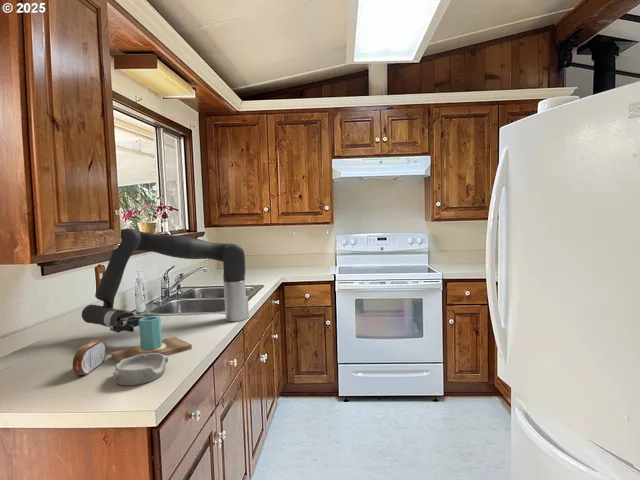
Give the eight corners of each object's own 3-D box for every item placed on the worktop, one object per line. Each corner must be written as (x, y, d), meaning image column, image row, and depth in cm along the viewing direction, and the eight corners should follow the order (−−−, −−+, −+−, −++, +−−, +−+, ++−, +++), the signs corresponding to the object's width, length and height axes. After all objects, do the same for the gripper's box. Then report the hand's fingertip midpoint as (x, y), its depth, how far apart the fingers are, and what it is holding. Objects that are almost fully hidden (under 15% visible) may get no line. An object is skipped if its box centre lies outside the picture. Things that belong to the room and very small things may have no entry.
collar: (154, 342, 146) (152, 315, 145) (165, 345, 142) (163, 317, 141) (137, 348, 141) (135, 319, 140) (148, 351, 137) (146, 322, 136)
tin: (99, 361, 136) (97, 336, 135) (108, 360, 136) (106, 335, 135) (72, 380, 121) (69, 352, 120) (83, 379, 121) (80, 351, 120)
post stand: (174, 340, 154) (172, 312, 153) (191, 348, 144) (189, 318, 143) (111, 357, 139) (108, 326, 138) (126, 367, 129) (123, 333, 128)
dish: (170, 366, 129) (169, 350, 128) (160, 384, 115) (158, 367, 115) (122, 370, 127) (121, 354, 126) (105, 390, 113) (103, 372, 113)
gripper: (99, 314, 146) (123, 320, 137) (136, 305, 158) (161, 310, 148) (100, 334, 147) (125, 342, 137) (138, 324, 158) (163, 330, 149)
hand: (144, 325), depth 143 cm, fingers open, 8 cm apart
